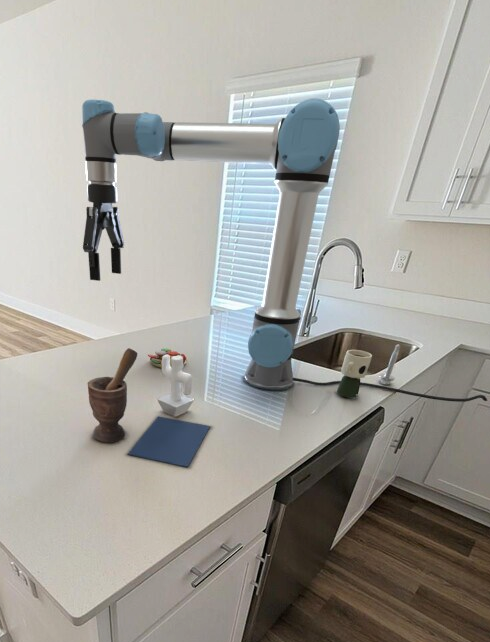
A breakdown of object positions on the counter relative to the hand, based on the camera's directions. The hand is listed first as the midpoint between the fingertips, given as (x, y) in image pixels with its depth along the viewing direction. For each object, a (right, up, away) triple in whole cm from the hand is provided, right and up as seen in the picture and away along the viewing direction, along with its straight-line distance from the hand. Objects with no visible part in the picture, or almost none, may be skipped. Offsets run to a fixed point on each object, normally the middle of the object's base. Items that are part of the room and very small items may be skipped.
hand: (106, 276), depth 114 cm
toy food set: (+17, -18, +25) cm, 35 cm away
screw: (+89, -26, +19) cm, 95 cm away
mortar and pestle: (+5, -47, -17) cm, 50 cm away
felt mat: (+19, -48, -18) cm, 55 cm away
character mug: (+72, -32, +9) cm, 80 cm away
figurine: (+20, -40, -5) cm, 44 cm away
